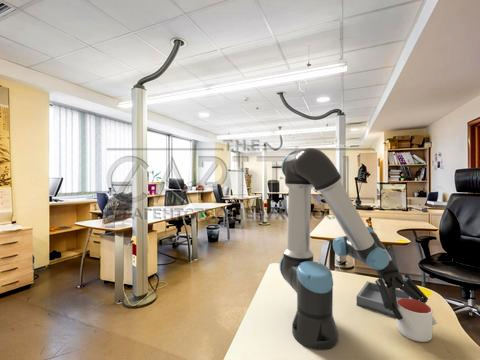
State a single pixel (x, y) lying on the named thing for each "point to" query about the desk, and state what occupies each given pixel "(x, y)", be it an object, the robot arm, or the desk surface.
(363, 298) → the tray
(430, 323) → the cup
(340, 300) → the desk surface
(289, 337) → the desk surface
